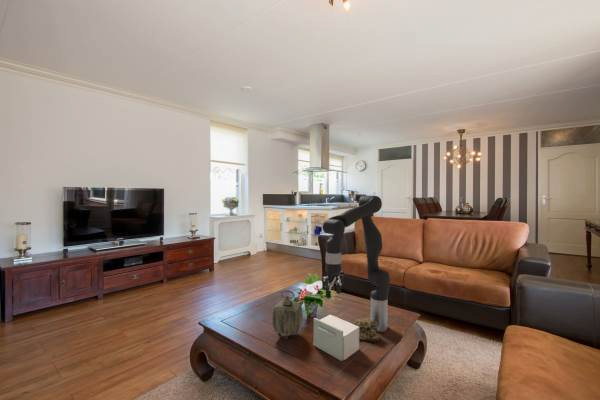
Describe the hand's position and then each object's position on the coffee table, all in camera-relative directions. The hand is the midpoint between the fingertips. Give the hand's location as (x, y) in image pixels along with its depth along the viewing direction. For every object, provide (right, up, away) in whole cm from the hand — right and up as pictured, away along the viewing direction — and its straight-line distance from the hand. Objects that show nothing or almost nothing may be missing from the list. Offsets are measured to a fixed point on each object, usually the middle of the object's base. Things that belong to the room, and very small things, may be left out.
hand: (333, 295), depth 131 cm
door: (-3, -27, -1) cm, 27 cm away
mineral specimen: (+18, -27, +14) cm, 35 cm away
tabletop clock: (-23, -27, +14) cm, 38 cm away
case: (+2, -27, +4) cm, 28 cm away
